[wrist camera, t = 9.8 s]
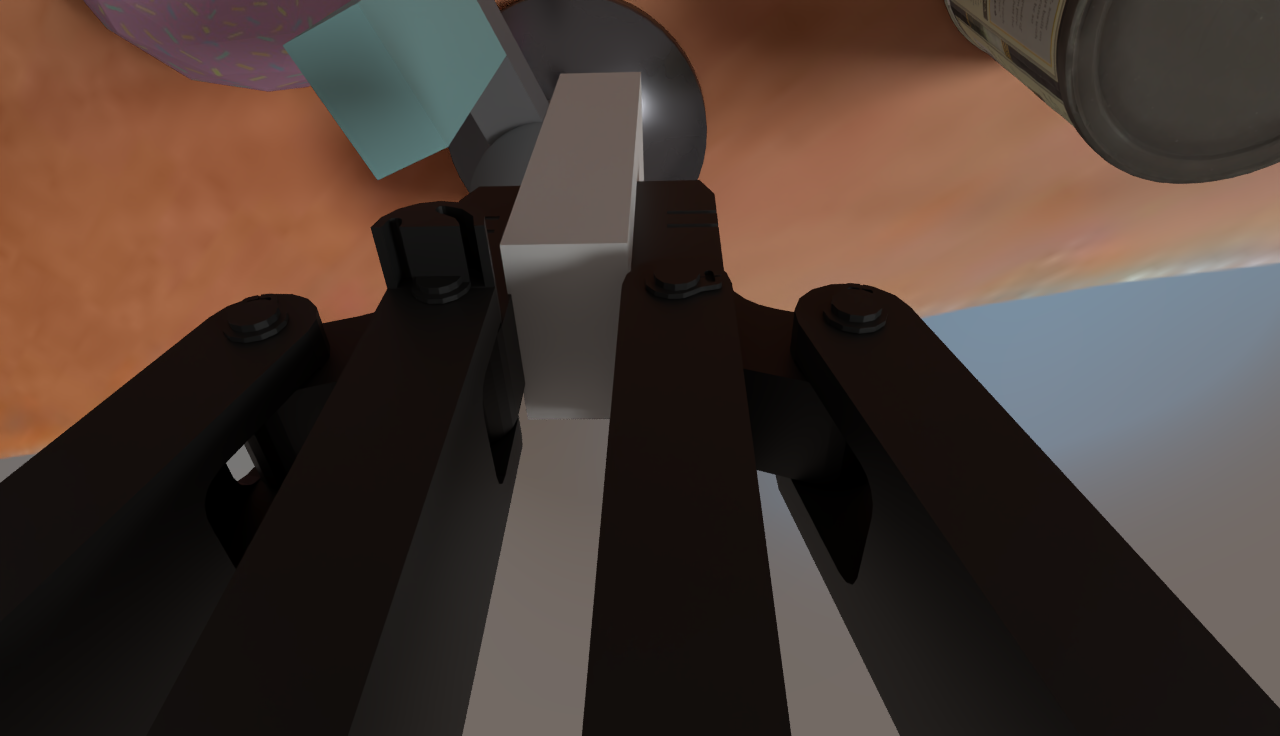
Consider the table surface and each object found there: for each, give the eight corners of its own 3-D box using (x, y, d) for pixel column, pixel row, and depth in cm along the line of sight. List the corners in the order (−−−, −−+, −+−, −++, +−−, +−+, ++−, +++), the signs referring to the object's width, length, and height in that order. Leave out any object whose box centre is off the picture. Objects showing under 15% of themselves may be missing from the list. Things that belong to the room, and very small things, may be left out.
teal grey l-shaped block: (667, 216, 34) (663, 371, 25) (534, 270, 36) (486, 431, 27) (516, -99, 27) (434, -41, 18) (360, -10, 29) (215, 82, 20)
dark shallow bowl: (517, 269, 44) (498, 328, 39) (362, -31, 34) (311, -2, 30) (735, 203, 41) (743, 258, 36) (630, -146, 31) (621, -134, 27)
